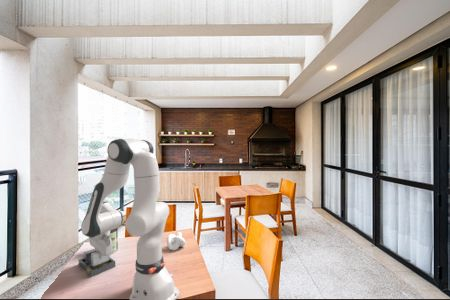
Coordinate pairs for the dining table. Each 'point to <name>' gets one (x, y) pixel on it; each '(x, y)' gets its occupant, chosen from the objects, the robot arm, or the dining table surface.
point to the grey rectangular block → (98, 258)
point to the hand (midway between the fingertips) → (100, 257)
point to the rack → (94, 270)
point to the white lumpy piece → (175, 241)
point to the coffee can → (114, 239)
